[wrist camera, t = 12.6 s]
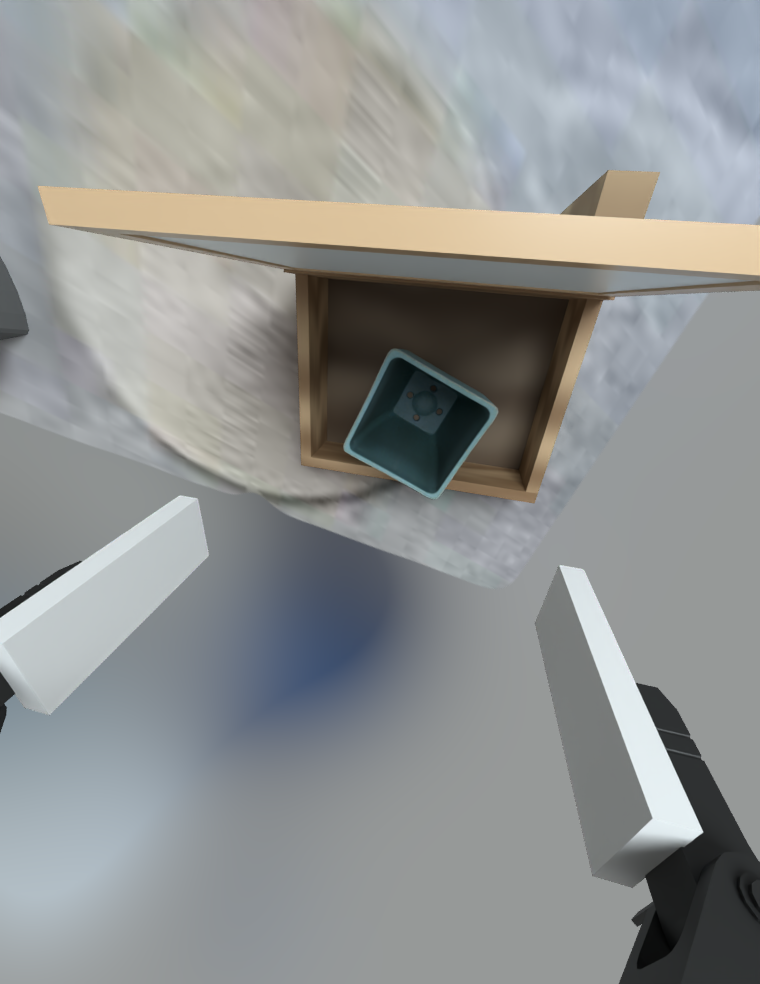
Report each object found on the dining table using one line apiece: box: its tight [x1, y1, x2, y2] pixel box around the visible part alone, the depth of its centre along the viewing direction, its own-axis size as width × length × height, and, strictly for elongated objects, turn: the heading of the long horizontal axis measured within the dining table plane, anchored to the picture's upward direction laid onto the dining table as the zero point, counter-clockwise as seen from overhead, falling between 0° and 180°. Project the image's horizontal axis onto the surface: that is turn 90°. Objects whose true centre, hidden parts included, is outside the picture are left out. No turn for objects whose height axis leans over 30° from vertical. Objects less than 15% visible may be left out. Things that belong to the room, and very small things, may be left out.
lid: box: [38, 186, 760, 297], centre depth 16 cm, size 1×22×16 cm, turn 86°
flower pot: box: [343, 348, 498, 500], centre depth 30 cm, size 9×9×9 cm
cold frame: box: [284, 170, 660, 503], centre depth 24 cm, size 19×22×20 cm
